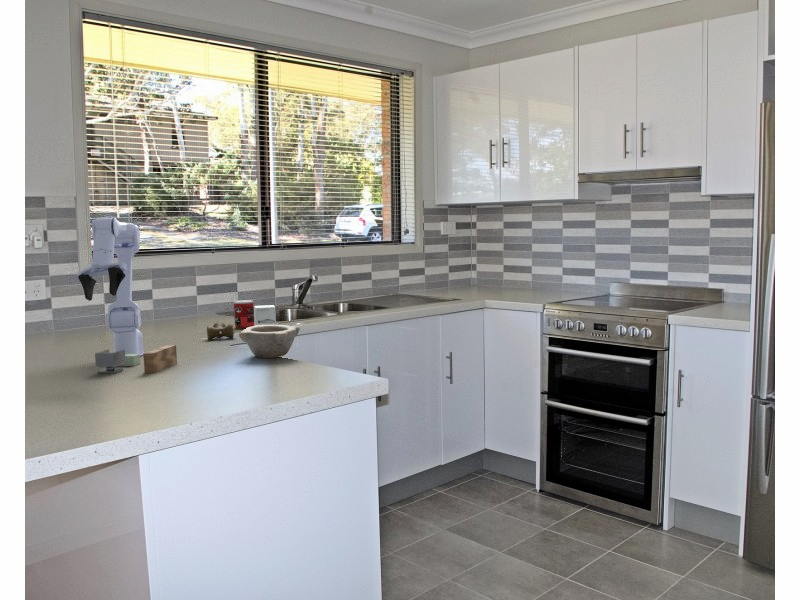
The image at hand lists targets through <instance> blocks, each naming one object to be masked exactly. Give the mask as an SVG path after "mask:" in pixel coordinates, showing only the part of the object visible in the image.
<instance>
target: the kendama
mask: <svg viewBox="0 0 800 600" xmlns="http://www.w3.org/2000/svg"><path fill="white" fill-rule="evenodd" d="M234 333H235V331H234V326H233V323H229V324H227V325H226V324H225V323H224V322H222V321H220V322H215V323H214V324H213V325H212V326H211V325H207V327H206V338H207V340H208V341H212V340H213V339H215V338H219V337H224V338H229V339H231V340H233V339H234V336H235V335H234Z"/></svg>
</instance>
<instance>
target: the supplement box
mask: <svg viewBox="0 0 800 600" xmlns="http://www.w3.org/2000/svg"><path fill="white" fill-rule="evenodd" d="M276 316H277V314H276V306H275V305H274V304H272V305H271V304H269V305H266V304H264V305H254V326H255V325H277V317H276Z"/></svg>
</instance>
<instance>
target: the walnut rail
mask: <svg viewBox="0 0 800 600" xmlns="http://www.w3.org/2000/svg"><path fill="white" fill-rule="evenodd" d="M177 354H178V353H177V345H176V344H165V345H163V346H161V347H157V348H155V349H152V350H149V351H146V352H143V355H142V356H143V367H144V368H143V369H144V374H155V373H158V372H161V371H163V370H165V369H168V368H170V367H172V366H175V365H177V364H178V357H177V356H178V355H177Z"/></svg>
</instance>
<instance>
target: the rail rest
mask: <svg viewBox="0 0 800 600" xmlns="http://www.w3.org/2000/svg"><path fill="white" fill-rule="evenodd" d="M125 358H126V363H124V364H121V365H118V366H121V367H122V366H123V367H124V366H128V367H129V366H131V367H133V366H134V367H135V366H137V365H140V364H141V356H140V354H125Z"/></svg>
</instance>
